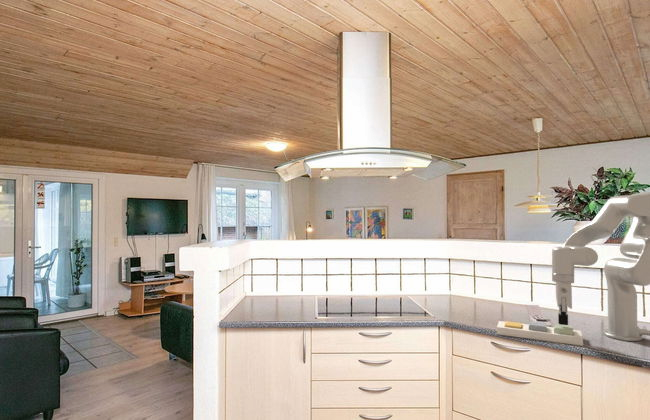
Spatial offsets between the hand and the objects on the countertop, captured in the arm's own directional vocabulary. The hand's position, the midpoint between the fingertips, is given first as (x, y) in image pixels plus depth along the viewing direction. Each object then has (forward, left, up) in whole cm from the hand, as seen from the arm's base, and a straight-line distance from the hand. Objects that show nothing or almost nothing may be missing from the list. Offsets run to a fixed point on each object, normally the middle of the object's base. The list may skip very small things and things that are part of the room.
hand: (563, 324), depth 154 cm
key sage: (0, 0, -4) cm, 4 cm away
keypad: (+9, 0, -6) cm, 11 cm away
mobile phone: (+9, -20, -7) cm, 23 cm away
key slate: (+9, 0, -4) cm, 10 cm away
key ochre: (+18, 0, -5) cm, 18 cm away
